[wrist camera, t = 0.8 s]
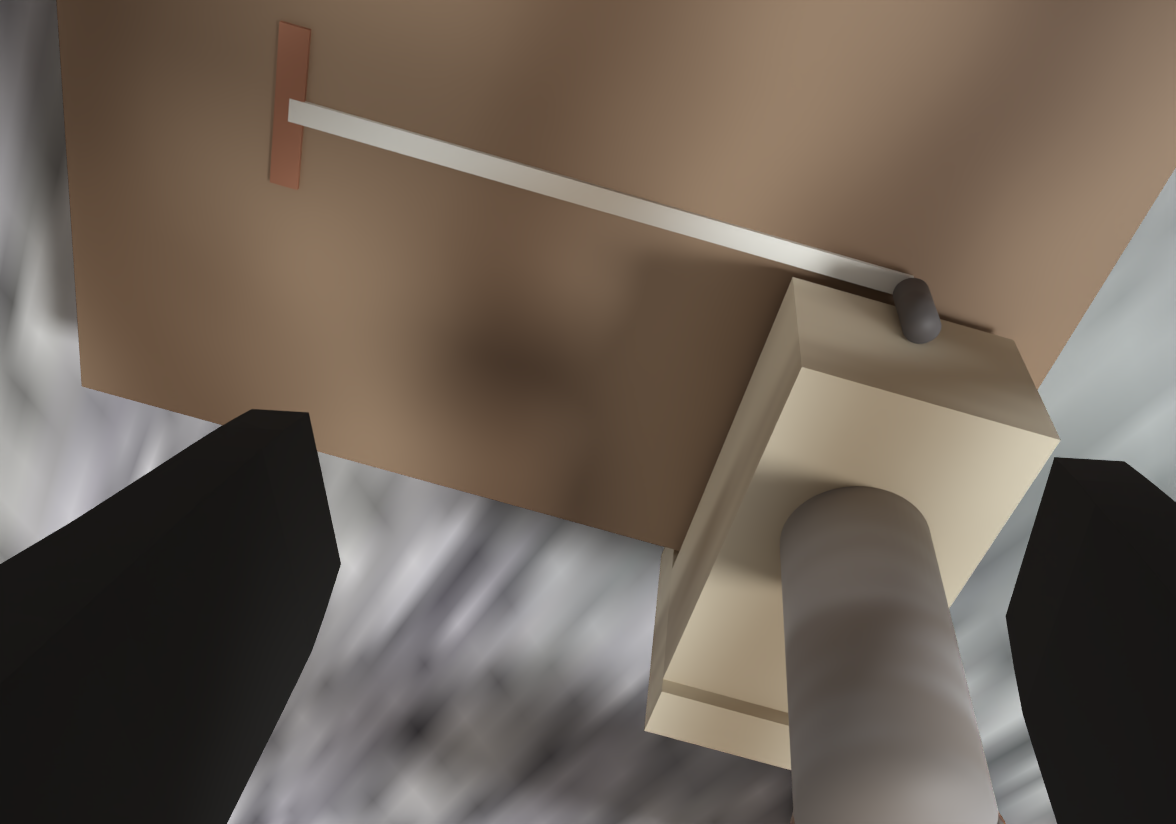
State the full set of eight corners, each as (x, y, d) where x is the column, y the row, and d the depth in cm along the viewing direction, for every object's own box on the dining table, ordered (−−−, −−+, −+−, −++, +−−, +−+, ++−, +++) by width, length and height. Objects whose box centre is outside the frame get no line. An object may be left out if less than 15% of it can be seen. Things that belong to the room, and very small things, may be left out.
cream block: (1008, 267, 18) (1222, 677, 10) (824, 600, 23) (868, 1048, 15) (800, 207, 18) (849, 573, 10) (661, 555, 23) (619, 982, 15)
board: (1592, -664, 11) (1742, -737, 10) (887, 549, 23) (899, 613, 21) (85, -1157, 11) (-36, -1326, 9) (131, 339, 22) (79, 388, 21)
